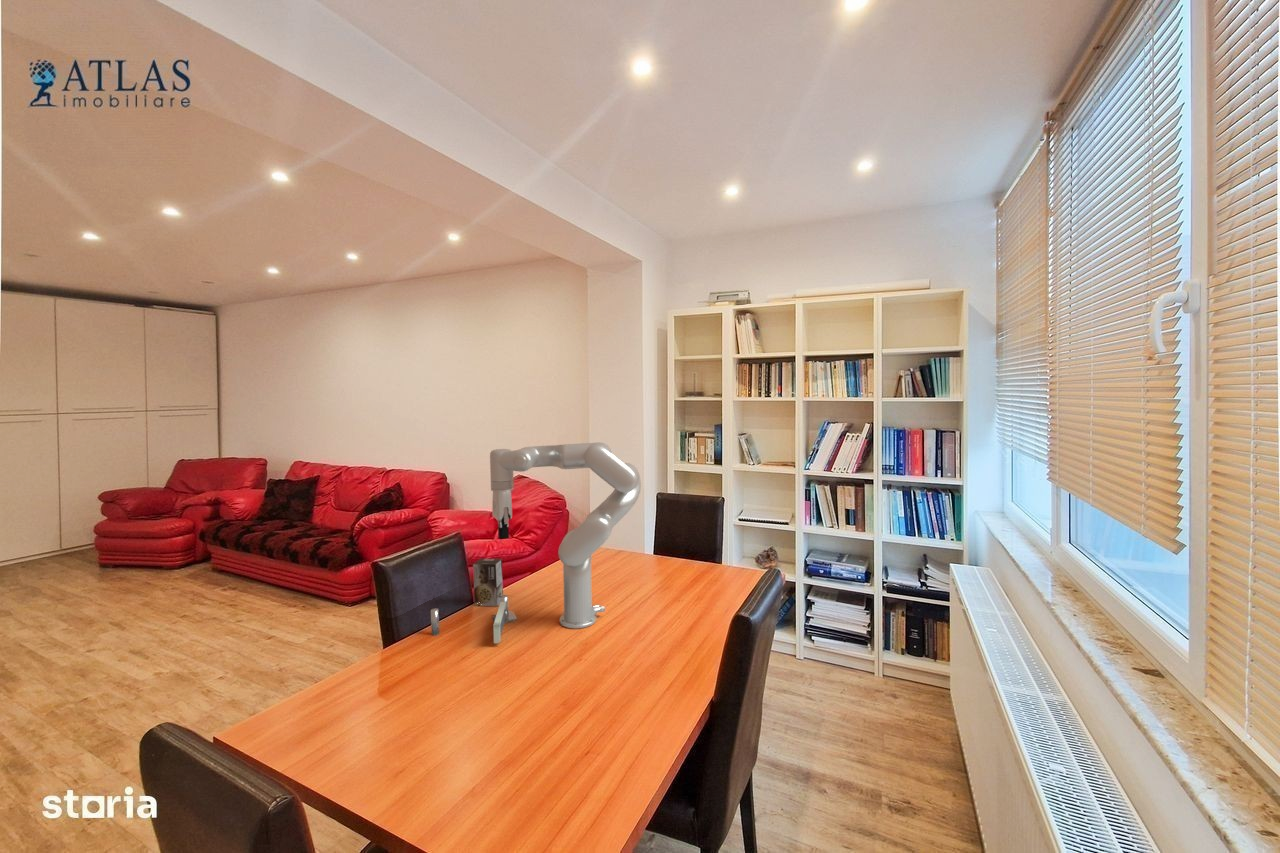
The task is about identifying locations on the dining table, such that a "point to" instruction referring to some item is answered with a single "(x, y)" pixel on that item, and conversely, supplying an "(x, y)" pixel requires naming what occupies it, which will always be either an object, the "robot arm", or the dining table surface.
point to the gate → (499, 622)
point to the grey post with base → (506, 610)
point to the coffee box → (488, 582)
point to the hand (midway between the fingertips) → (503, 538)
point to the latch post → (435, 621)
